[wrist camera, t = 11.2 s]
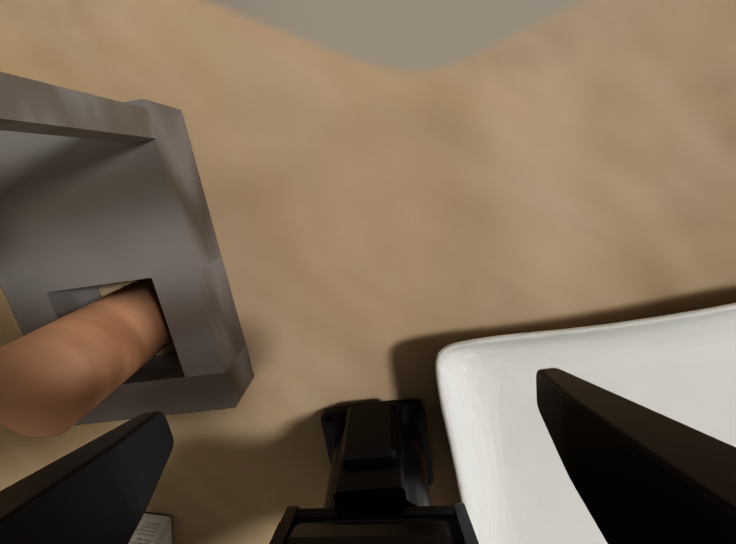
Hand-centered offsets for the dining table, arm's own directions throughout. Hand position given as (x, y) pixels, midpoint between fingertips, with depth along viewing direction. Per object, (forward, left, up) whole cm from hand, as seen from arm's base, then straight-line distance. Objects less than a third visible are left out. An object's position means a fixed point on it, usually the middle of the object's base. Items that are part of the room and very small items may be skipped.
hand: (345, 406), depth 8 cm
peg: (-1, +13, -12) cm, 18 cm away
